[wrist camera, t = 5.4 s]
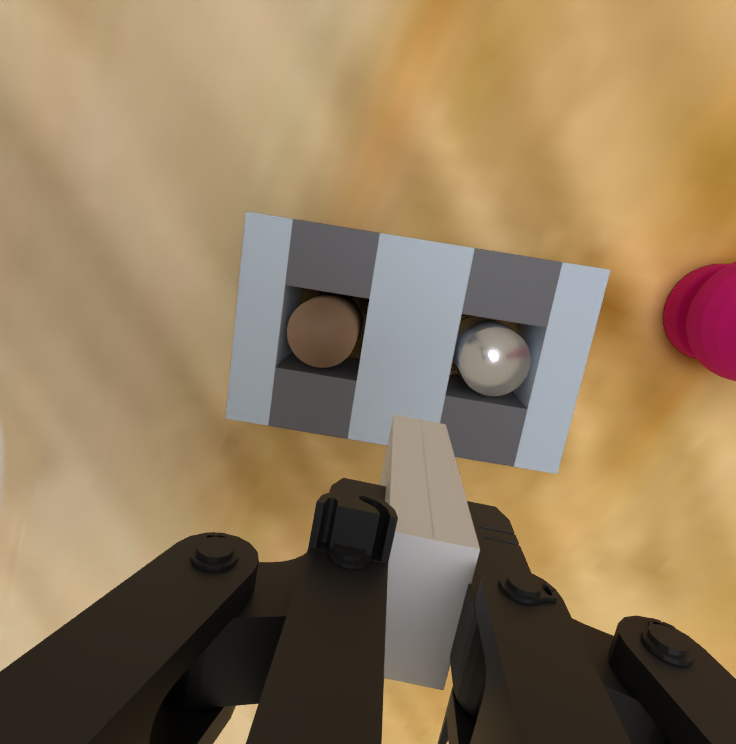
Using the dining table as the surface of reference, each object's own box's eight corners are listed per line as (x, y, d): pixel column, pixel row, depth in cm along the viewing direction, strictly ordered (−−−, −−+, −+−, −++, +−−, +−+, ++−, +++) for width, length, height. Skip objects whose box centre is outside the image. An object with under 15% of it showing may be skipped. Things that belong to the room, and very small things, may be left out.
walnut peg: (300, 344, 36) (283, 361, 30) (308, 286, 35) (291, 293, 29) (357, 353, 36) (351, 373, 30) (366, 296, 35) (361, 304, 29)
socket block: (252, 392, 37) (225, 418, 31) (271, 218, 34) (245, 211, 28) (531, 438, 37) (557, 473, 31) (573, 266, 34) (610, 270, 28)
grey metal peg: (444, 368, 36) (453, 389, 30) (455, 310, 35) (467, 321, 29) (501, 377, 36) (522, 401, 30) (514, 320, 35) (538, 333, 29)
